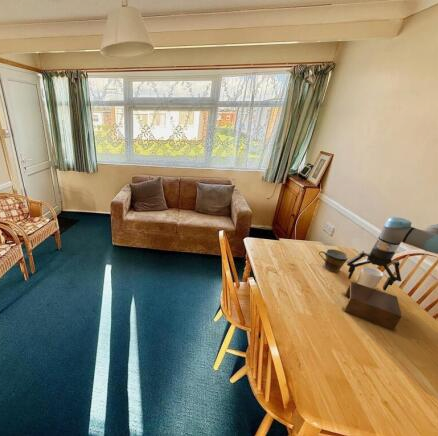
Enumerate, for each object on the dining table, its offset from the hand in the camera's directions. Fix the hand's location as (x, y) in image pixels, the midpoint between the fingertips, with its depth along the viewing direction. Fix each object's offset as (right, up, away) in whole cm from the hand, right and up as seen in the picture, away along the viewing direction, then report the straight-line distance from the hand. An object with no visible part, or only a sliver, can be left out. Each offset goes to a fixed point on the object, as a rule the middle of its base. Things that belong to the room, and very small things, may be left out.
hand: (365, 283), depth 118 cm
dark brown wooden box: (-12, -9, -13) cm, 20 cm away
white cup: (0, -2, +1) cm, 3 cm away
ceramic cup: (-7, +5, +16) cm, 18 cm away
